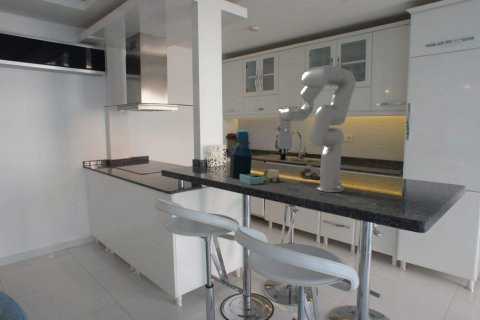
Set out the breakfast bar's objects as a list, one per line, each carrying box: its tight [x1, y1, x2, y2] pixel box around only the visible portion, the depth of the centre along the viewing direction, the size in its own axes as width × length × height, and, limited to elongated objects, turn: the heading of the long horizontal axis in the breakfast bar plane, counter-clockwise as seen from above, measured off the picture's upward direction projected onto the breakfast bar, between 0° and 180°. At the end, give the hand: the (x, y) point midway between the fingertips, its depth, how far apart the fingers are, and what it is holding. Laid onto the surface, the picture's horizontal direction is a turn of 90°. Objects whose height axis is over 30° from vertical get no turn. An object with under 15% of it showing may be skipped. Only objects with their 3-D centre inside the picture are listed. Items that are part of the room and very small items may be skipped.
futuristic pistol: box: [299, 164, 321, 181], centre depth 187 cm, size 2×15×10 cm, turn 53°
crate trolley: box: [262, 168, 280, 183], centre depth 181 cm, size 8×7×6 cm
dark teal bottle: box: [229, 129, 253, 180], centre depth 193 cm, size 21×14×30 cm, turn 179°
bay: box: [239, 173, 265, 185], centre depth 175 cm, size 12×9×4 cm
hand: (282, 160), depth 184 cm, fingers closed
